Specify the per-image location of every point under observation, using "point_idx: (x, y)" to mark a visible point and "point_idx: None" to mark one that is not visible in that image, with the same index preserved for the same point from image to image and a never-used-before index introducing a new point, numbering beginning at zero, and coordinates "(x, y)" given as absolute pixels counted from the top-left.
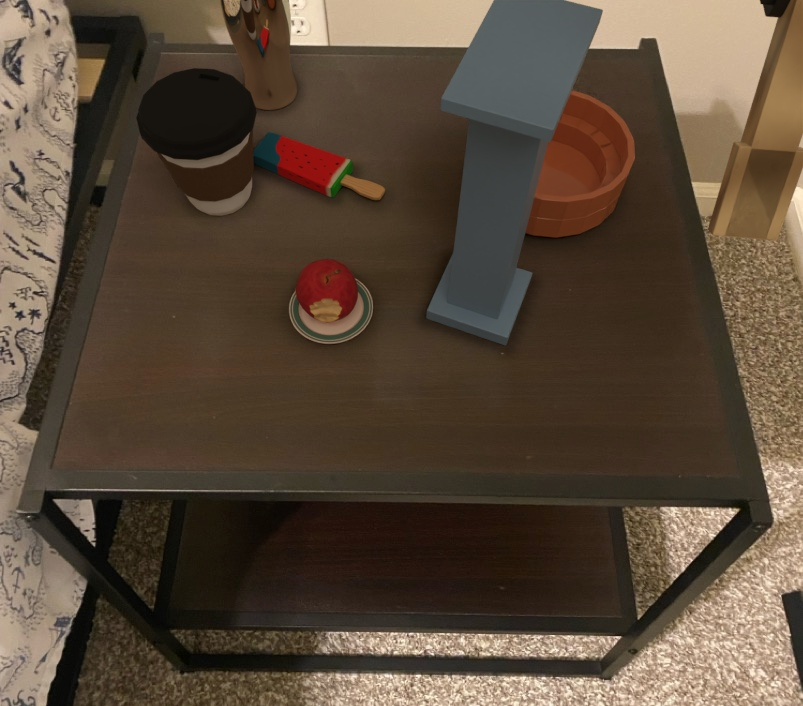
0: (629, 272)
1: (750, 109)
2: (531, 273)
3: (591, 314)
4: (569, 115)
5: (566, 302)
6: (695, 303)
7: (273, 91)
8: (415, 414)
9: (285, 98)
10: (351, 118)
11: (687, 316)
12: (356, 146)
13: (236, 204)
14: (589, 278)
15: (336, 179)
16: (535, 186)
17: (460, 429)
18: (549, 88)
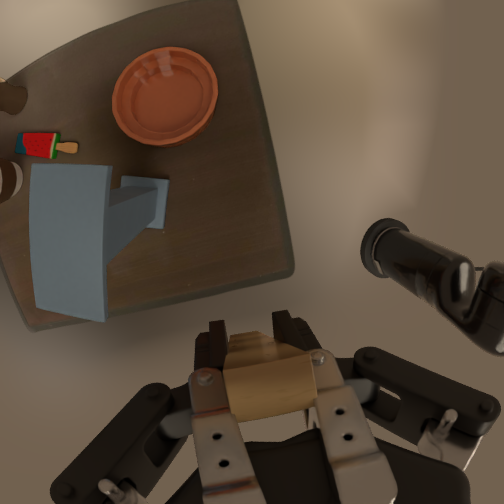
0: (227, 157)
1: (229, 340)
2: (167, 181)
3: (208, 193)
4: (176, 57)
5: (192, 188)
6: (267, 171)
7: (14, 108)
8: (132, 277)
9: (21, 104)
10: (54, 97)
11: (263, 181)
12: (59, 116)
13: (18, 188)
14: (204, 167)
15: (52, 151)
16: (134, 207)
17: (154, 279)
18: (89, 282)
